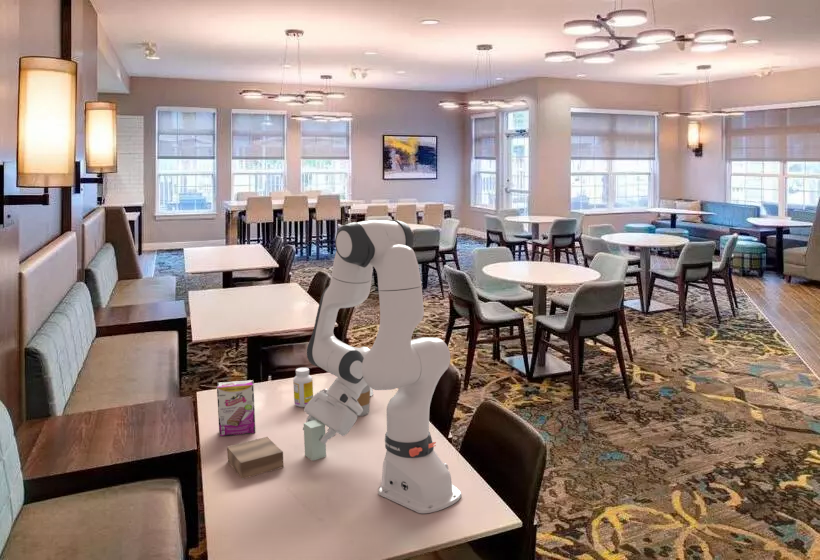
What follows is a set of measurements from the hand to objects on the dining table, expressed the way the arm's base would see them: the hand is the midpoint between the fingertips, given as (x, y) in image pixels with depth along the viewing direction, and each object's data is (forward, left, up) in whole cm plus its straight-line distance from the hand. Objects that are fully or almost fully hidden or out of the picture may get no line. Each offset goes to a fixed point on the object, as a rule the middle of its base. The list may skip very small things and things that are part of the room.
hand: (313, 436), depth 184 cm
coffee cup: (+19, -29, -6) cm, 35 cm away
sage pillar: (0, -1, -6) cm, 6 cm away
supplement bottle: (+38, -18, -6) cm, 42 cm away
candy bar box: (+30, +10, -6) cm, 32 cm away
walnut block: (+6, +15, -6) cm, 18 cm away
